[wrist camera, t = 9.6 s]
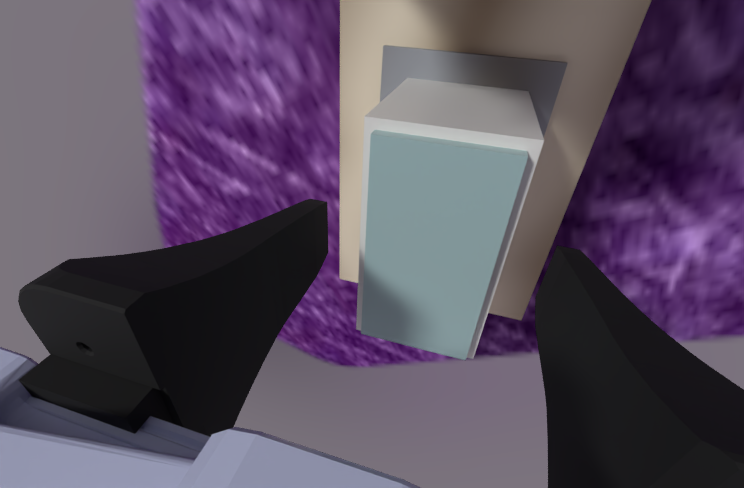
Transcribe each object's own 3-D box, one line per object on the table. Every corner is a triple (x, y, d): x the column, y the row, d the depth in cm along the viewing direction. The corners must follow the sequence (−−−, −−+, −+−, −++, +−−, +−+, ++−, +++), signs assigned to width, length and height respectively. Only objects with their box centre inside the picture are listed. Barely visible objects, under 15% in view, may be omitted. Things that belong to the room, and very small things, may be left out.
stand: (632, -6, 13) (657, -6, 11) (519, 293, 21) (521, 324, 19) (359, -22, 15) (337, -24, 13) (352, 256, 23) (337, 281, 21)
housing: (479, 267, 18) (472, 367, 13) (390, 248, 18) (353, 337, 14) (528, 91, 13) (546, 145, 8) (407, 77, 14) (359, 120, 9)
